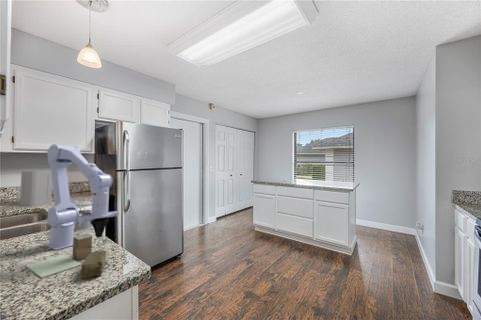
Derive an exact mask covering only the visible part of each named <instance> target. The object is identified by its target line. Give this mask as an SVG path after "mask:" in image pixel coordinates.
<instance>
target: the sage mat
mask: <svg viewBox="0 0 481 320" xmlns="http://www.w3.org/2000/svg"><path fill="white" fill-rule="evenodd" d="M82 264H83V263H81V262H80V261H76V260H75V259H73V258H71V257H70V256H67V255H66V254H63V255H60V256H55V257H52V258H48V259H44V260H42V261H38V262H35V263H31V264H28V265H26V266H25V267H26V268H27V269H29V270H30V271H31V272H32V273H33V274H35V275H36V276H37V277H39V278H40V279H44V278H48V277H51V276H53V275H57V274H59V273H63V272H66V271H68V270H71V269H74V268H78V267H80V266H81V267H82Z"/></svg>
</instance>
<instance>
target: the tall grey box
mask: <svg viewBox="0 0 481 320" xmlns="http://www.w3.org/2000/svg"><path fill="white" fill-rule="evenodd" d="M20 174H21V179H20V195H19V206H23V207H37V205H39V206H42V205H41V204H44V205H48V204H47V203H50V204H52V195H53V194H52V193H53V192H52V191H53V183H52V175H51V170H21V173H20Z"/></svg>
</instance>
